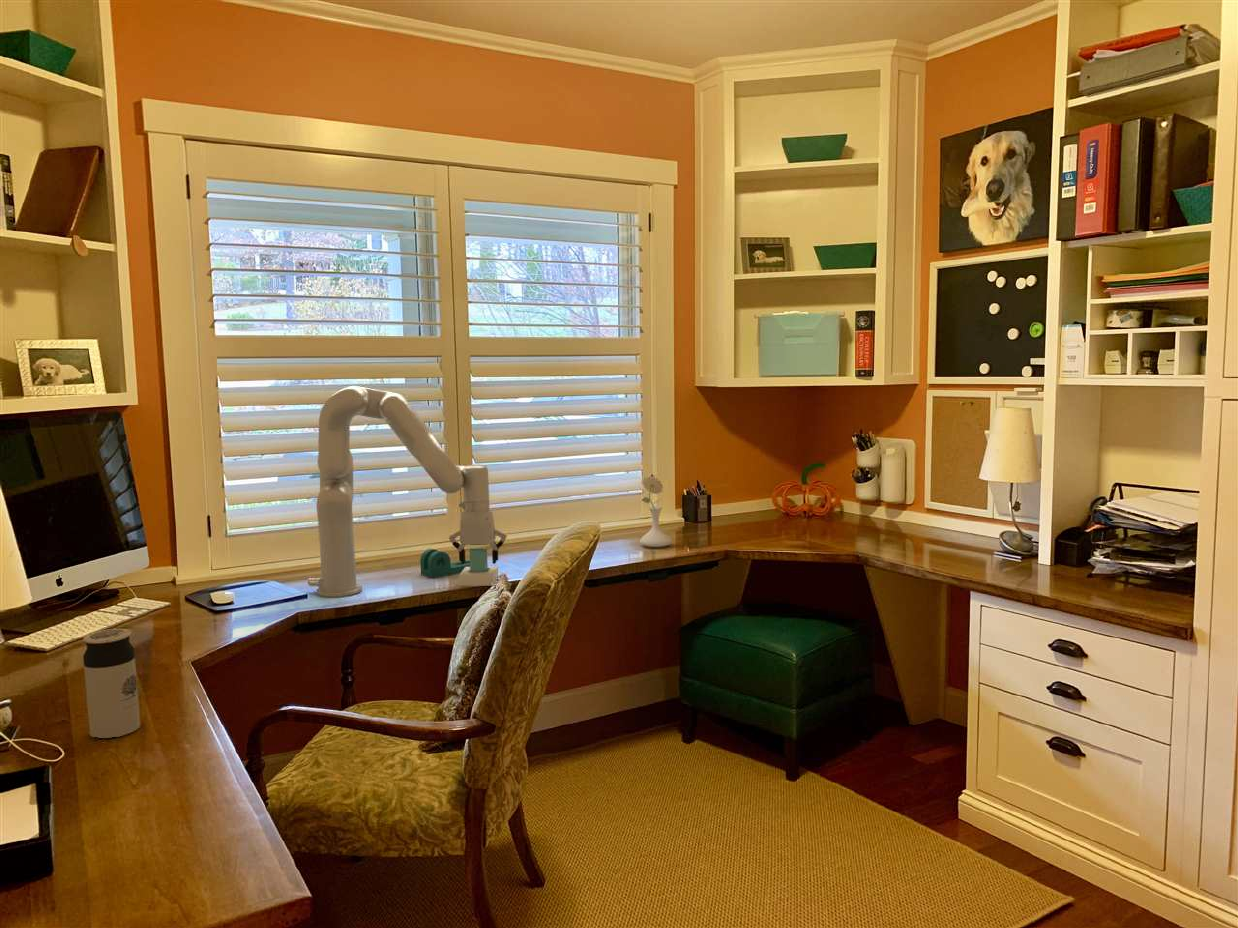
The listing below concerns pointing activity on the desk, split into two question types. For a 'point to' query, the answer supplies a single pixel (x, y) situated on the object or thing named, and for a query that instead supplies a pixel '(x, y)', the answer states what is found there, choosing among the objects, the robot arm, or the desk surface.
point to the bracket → (439, 564)
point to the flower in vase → (654, 516)
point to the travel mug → (111, 683)
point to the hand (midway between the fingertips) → (479, 562)
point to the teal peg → (478, 560)
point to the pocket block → (478, 577)
